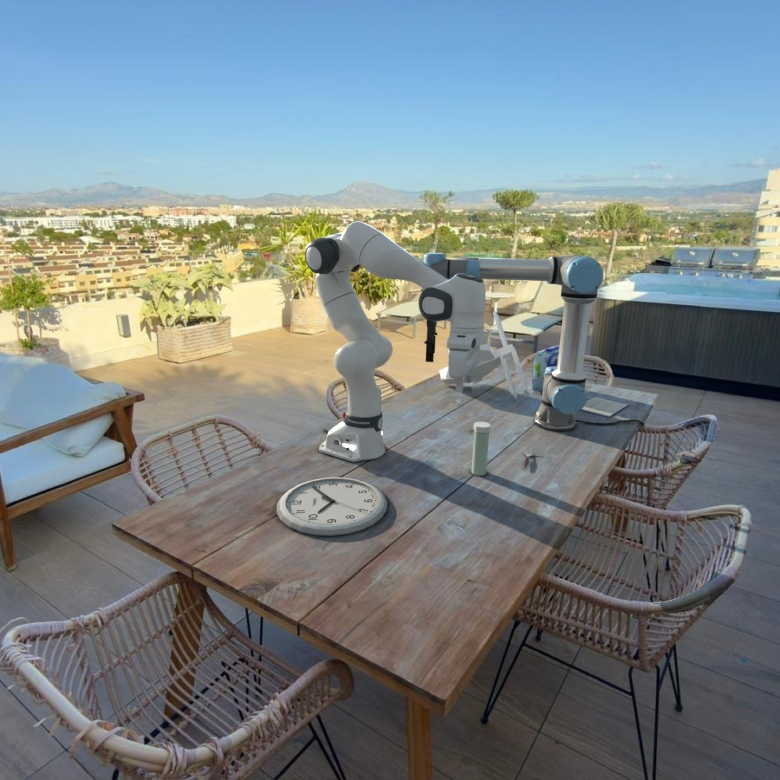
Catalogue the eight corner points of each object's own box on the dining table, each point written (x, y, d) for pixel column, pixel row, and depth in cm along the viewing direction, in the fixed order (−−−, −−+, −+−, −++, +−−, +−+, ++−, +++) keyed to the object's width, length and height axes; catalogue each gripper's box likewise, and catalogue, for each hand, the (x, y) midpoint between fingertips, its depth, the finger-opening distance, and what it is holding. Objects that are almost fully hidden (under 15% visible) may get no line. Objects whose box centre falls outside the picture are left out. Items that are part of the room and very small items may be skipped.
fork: (520, 469, 166) (521, 463, 165) (526, 450, 180) (526, 444, 180) (528, 470, 165) (529, 464, 164) (533, 451, 179) (534, 445, 179)
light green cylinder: (472, 475, 161) (476, 428, 157) (470, 469, 166) (473, 423, 161) (487, 475, 161) (491, 428, 157) (484, 469, 166) (488, 423, 161)
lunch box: (548, 398, 236) (553, 353, 229) (527, 393, 243) (531, 349, 237) (575, 387, 253) (581, 344, 247) (555, 382, 260) (560, 341, 254)
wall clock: (392, 527, 129) (268, 531, 127) (391, 533, 130) (269, 537, 127) (383, 473, 158) (282, 475, 155) (383, 478, 158) (282, 480, 156)
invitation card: (608, 416, 214) (573, 407, 224) (608, 416, 214) (573, 408, 224) (628, 404, 229) (594, 396, 238) (628, 405, 229) (594, 397, 238)
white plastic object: (461, 429, 252) (437, 405, 227) (444, 352, 274) (420, 323, 250) (535, 404, 240) (518, 377, 215) (510, 326, 262) (492, 293, 237)
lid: (475, 433, 157) (475, 427, 156) (472, 426, 162) (472, 421, 161) (491, 433, 157) (492, 427, 156) (488, 427, 162) (488, 421, 161)
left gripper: (464, 329, 149) (462, 376, 153) (444, 342, 130) (442, 395, 135) (486, 330, 146) (483, 378, 150) (469, 345, 128) (466, 398, 132)
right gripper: (424, 293, 195) (422, 349, 202) (419, 302, 172) (417, 365, 178) (444, 294, 195) (441, 350, 201) (442, 303, 171) (439, 366, 177)
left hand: (464, 386), depth 142 cm, fingers open, 8 cm apart
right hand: (430, 357), depth 190 cm, fingers open, 13 cm apart
